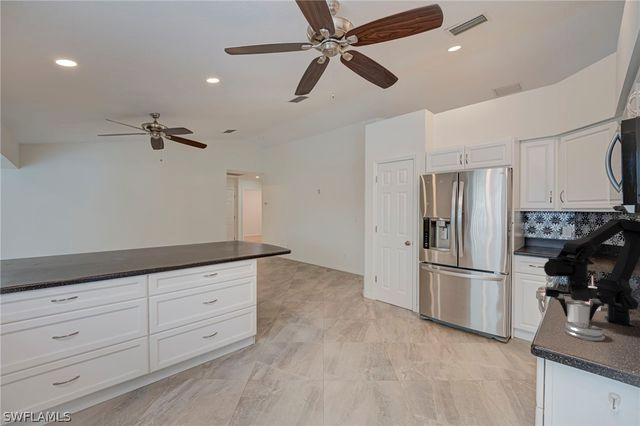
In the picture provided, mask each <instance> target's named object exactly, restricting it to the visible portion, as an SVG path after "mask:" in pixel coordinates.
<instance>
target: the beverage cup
mask: <svg viewBox="0 0 640 426" xmlns="http://www.w3.org/2000/svg"><path fill="white" fill-rule="evenodd" d="M588 287H589V288H597V287H596V286H594V275H591V285H588ZM590 300H592V299H590ZM584 303H586V304H589V305H590V301H589V302H584ZM601 307H602V306H600V307H599V308H598V309H597V310H596V312H599V311H601V309H602V308H601Z"/></svg>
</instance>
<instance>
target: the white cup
mask: <svg viewBox="0 0 640 426" xmlns="http://www.w3.org/2000/svg"><path fill="white" fill-rule="evenodd" d="M565 303H566V309H567V317H566V318H567V322H580V323H586V324H590V320H589V317H590V308H591V306H590V305H589V304H586V303H585V302H583V301H582V302H580V301H576V300H573V301H572V300H565Z"/></svg>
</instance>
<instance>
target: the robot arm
mask: <svg viewBox="0 0 640 426" xmlns="http://www.w3.org/2000/svg"><path fill="white" fill-rule="evenodd" d="M621 232H622V237H623V239H624V243H623V246H622V247H621V249H620V252H619V255H618V256H617V260H616V261H615V264H614V267H613V269H612V270H611V273H610V275H609V276H608V277H606V278H605V277H600V278H599V279H598V283H597V285H596V286H595V287H597V288H589V287H588V286H589V266H592V265H595V262H593V261H592V260H591V259H590V258H591V256H593V255H594V254H595V253H596V252H597V248H598V247H599V246H601V245H602V244H604V243H605V242H607V241H609V240H610V239H612V238H613V237H615V236H616V235H618V234H620V233H621ZM639 260H640V220H632V219H628V218H611V219H609V220H608V221H607V222H606V223H605V224H602V225H601V226H600V227H598V228H596V229H595V230H593V231H592V232H590V233H588V234H587V235H585V236H584V237H580V238H576V239H575V238H574V239H572V240H570V241H567V242H566V243H565V244H563V248H562V249H561V250H560V252H559V253H558V254H557V256H556V257H555V258H553V257H548V260H547V261H545V263H544V265H543V271H544V273H545V274H546V275H547V276H548V277H558V278H559V277H561V278H562V277H566V280H567V281H566V283H567V285H566V286H567V288H566V290H562V289H561V290H560V289H559V287H554V286H546V287H545V288H544V294H545V297H548V298H549V297H550V298H554V300H556V301H558V302H559V303H560V306H561V308H562V310H563V313H564V315H565V317H566V318H568V317H567V309H566V299H565V297H570V299H571V301H572V300H573V301H576V302H578V301H579V302H580V301H582V302H583V303H585V302H589V301H590V306H591V308H590V317H589V322H590V321H592V320H593V318H594V316H595V314H596V312H597V311H596V310H597V309H598V308H599V307H600V306H601V307H605V305H606V308H607V311H606V313H607V315H604V319H605V320H606V321H607V322H608V323H610V324H611V323H612V324H617V325H623V326H627V327H628V326H629V327H634V324H633V323H632V322H631V311H634V310H637V309H638V308H639V307H638V306H639V302H638V301H637V300H636V299H635V298H633V296H632V295H631V294H632V292H633V291H632V287H631V285H630V280H631V278H632V276H633V273H634V271H635V269H636V266H637V264H638V262H639ZM590 299H592V300H590Z"/></svg>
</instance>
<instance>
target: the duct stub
mask: <svg viewBox="0 0 640 426" xmlns="http://www.w3.org/2000/svg"><path fill="white" fill-rule="evenodd" d="M563 333H565V334H567V335H568V336H570V337H573V338H576V339H580V340H583V341H587V342H595V343H596V342H597V343H599V342H604V341H605V340H606V335H605V334H604V333H603V329H602V328H601V327H598V326H596V325H593V324H590V323H589V324H586V323H580V322H569V321H566V322H565V326H564V327H563Z"/></svg>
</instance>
